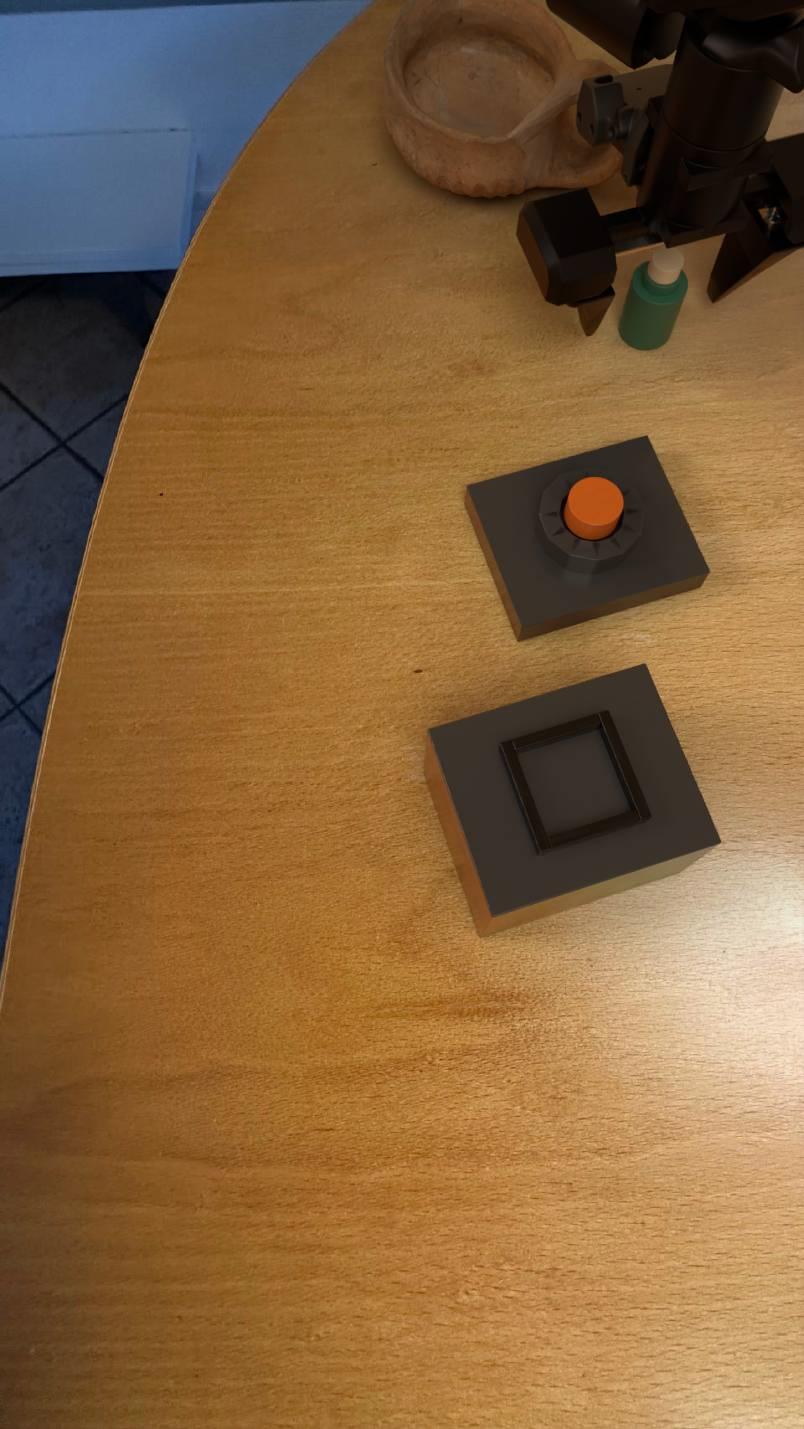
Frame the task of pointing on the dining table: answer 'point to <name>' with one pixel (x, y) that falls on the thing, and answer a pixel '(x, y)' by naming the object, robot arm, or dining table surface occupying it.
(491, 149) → the bowl
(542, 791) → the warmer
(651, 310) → the bottle
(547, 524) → the control
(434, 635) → the dining table surface
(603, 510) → the button
